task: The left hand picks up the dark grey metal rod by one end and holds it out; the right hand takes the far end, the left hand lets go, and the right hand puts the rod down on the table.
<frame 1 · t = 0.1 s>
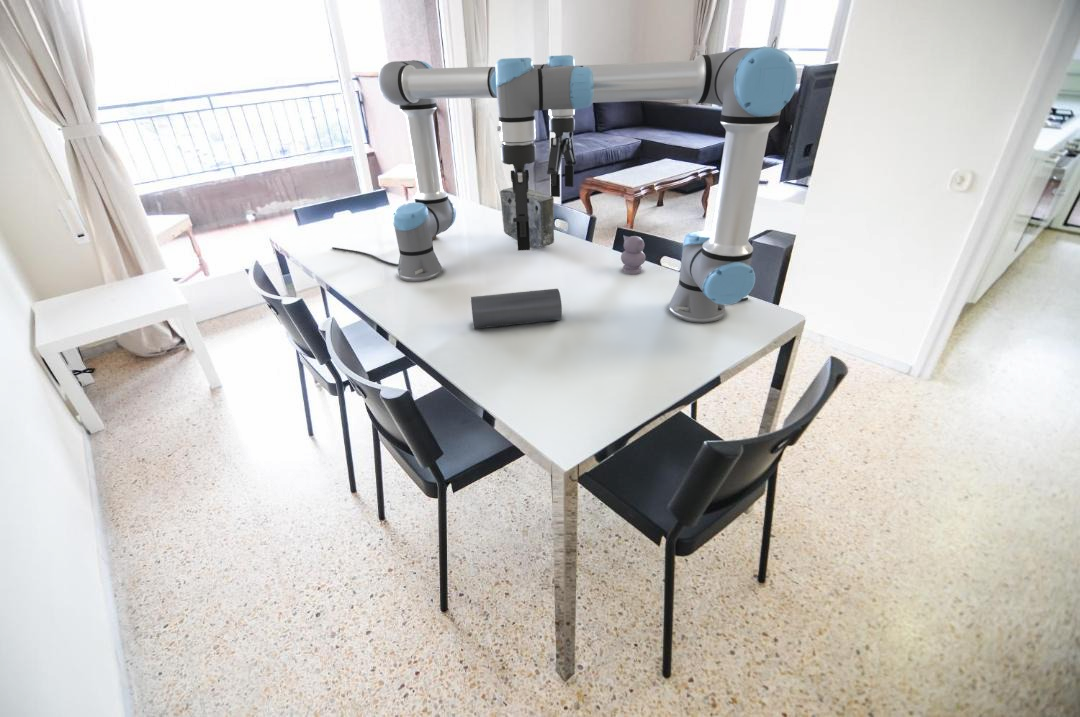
left hand: (562, 191, 156), 28 cm above the table, tool pointing down, fingers open, 13 cm apart
right hand: (523, 240, 117), 28 cm above the table, tool pointing down, fingers open, 13 cm apart
seal figurine: (423, 241, 208), on the table
cat figurine: (632, 271, 172), on the table
rod: (517, 322, 142), on the table
concrete block: (530, 244, 200), on the table
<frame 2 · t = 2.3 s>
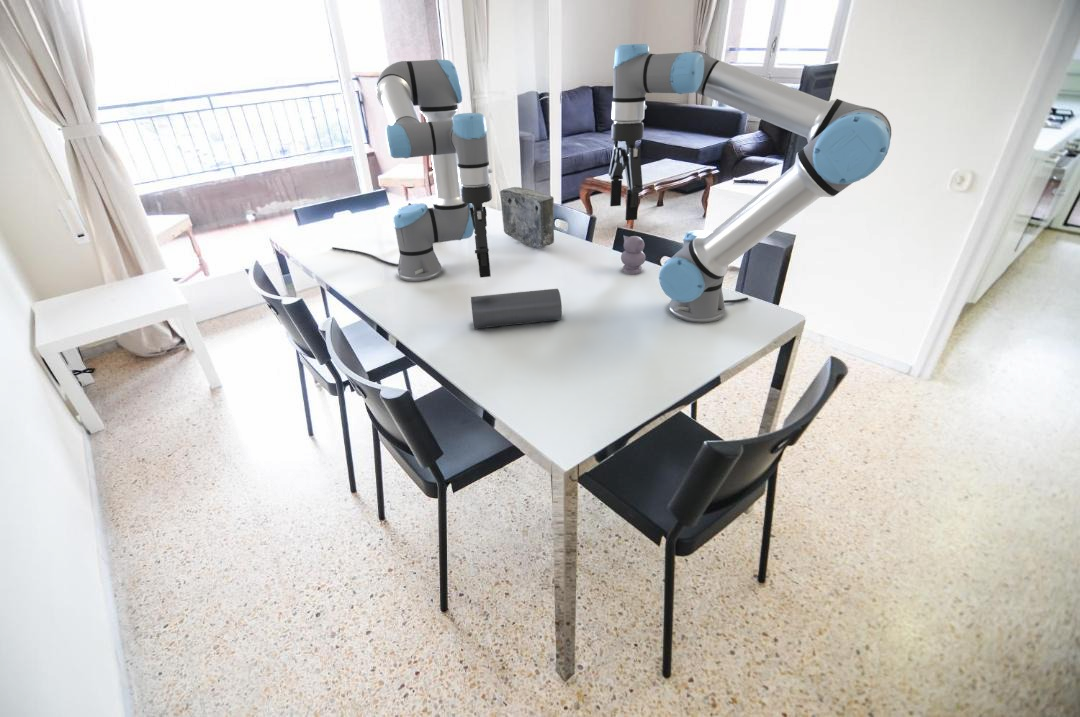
left hand: (483, 267, 132), 17 cm above the table, tool pointing down, fingers open, 13 cm apart
right hand: (622, 212, 128), 30 cm above the table, tool pointing down, fingers open, 13 cm apart
nothing on the table moved.
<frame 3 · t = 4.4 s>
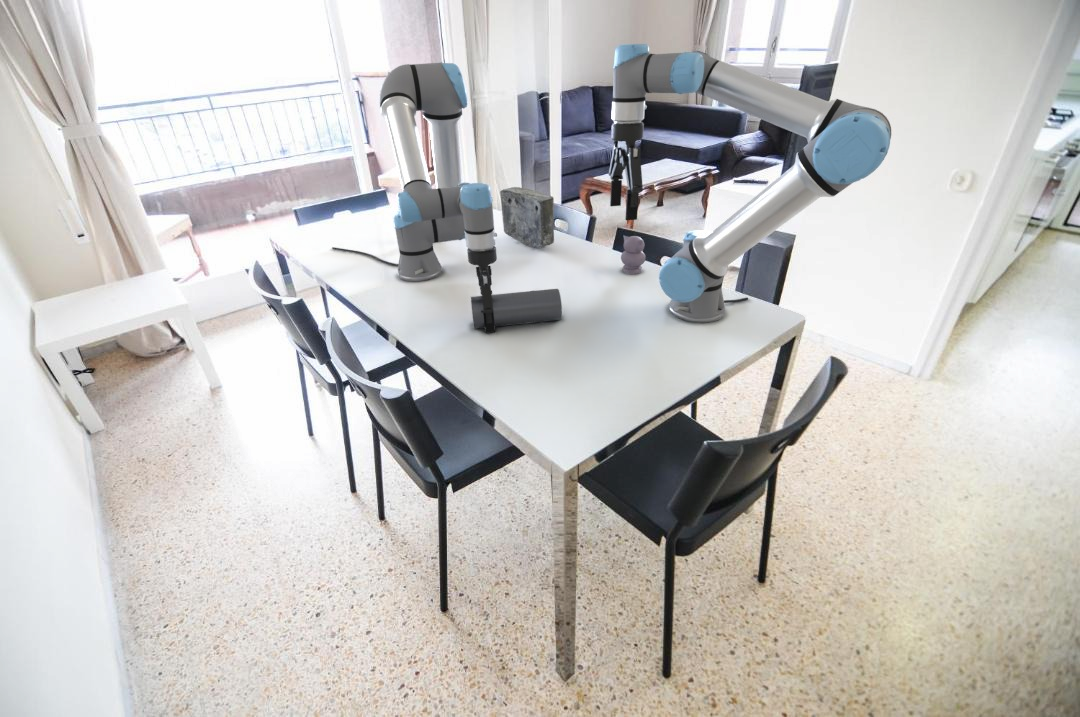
left hand: (489, 323, 141), 0 cm above the table, tool pointing down, fingers closed on rod, 9 cm apart
right hand: (622, 212, 128), 30 cm above the table, tool pointing down, fingers open, 13 cm apart
rod: (517, 322, 142), on the table, touching left hand
everything else where it was.
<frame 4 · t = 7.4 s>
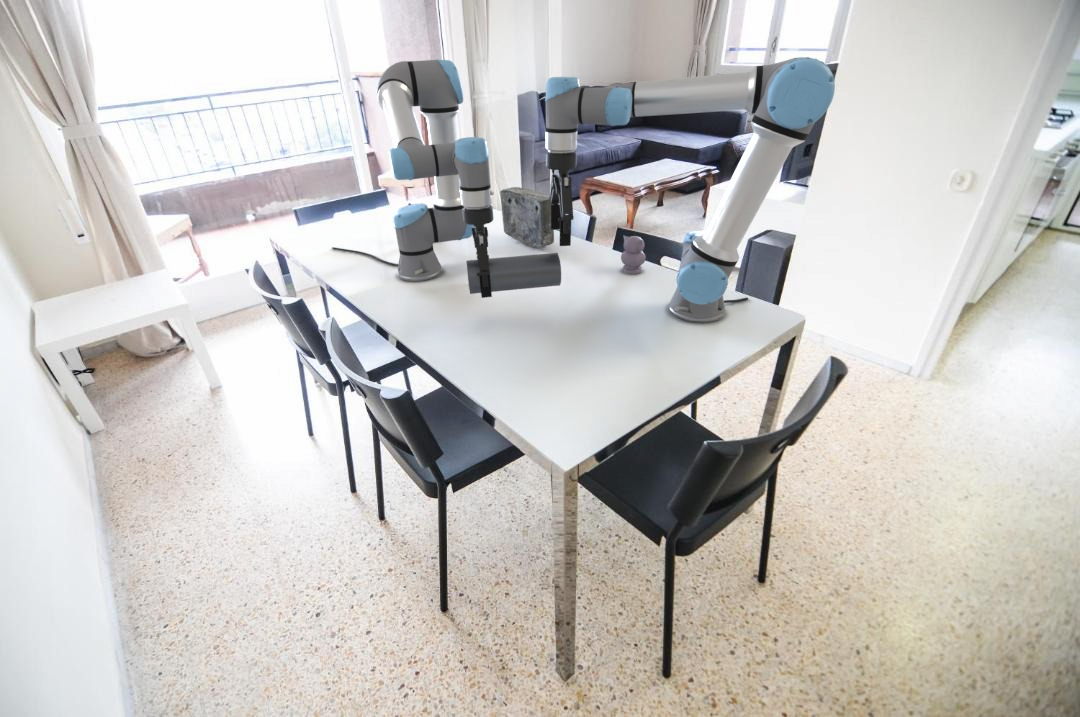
left hand: (485, 289, 135), 11 cm above the table, tool pointing down, fingers closed on rod, 9 cm apart
right hand: (560, 237, 131), 24 cm above the table, tool pointing down, fingers open, 13 cm apart
rod: (514, 288, 136), point 10 cm above the table, touching left hand
everything else where it was.
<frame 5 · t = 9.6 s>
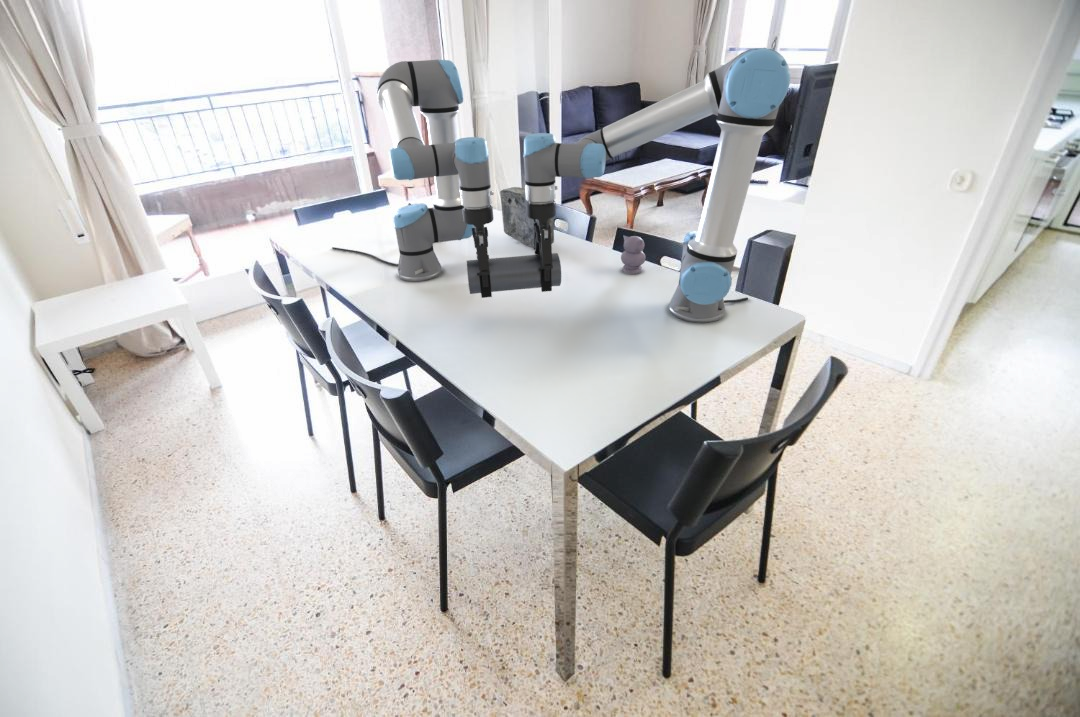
left hand: (485, 289, 135), 11 cm above the table, tool pointing down, fingers closed on rod, 9 cm apart
right hand: (543, 283, 137), 11 cm above the table, tool pointing down, fingers closed on rod, 9 cm apart
rod: (514, 288, 136), point 10 cm above the table, touching left hand, right hand
everything else where it was.
when the left hand's fingers open (11 cm above the table, at t = 10.5 s): rod stays where it is, held by the right hand.
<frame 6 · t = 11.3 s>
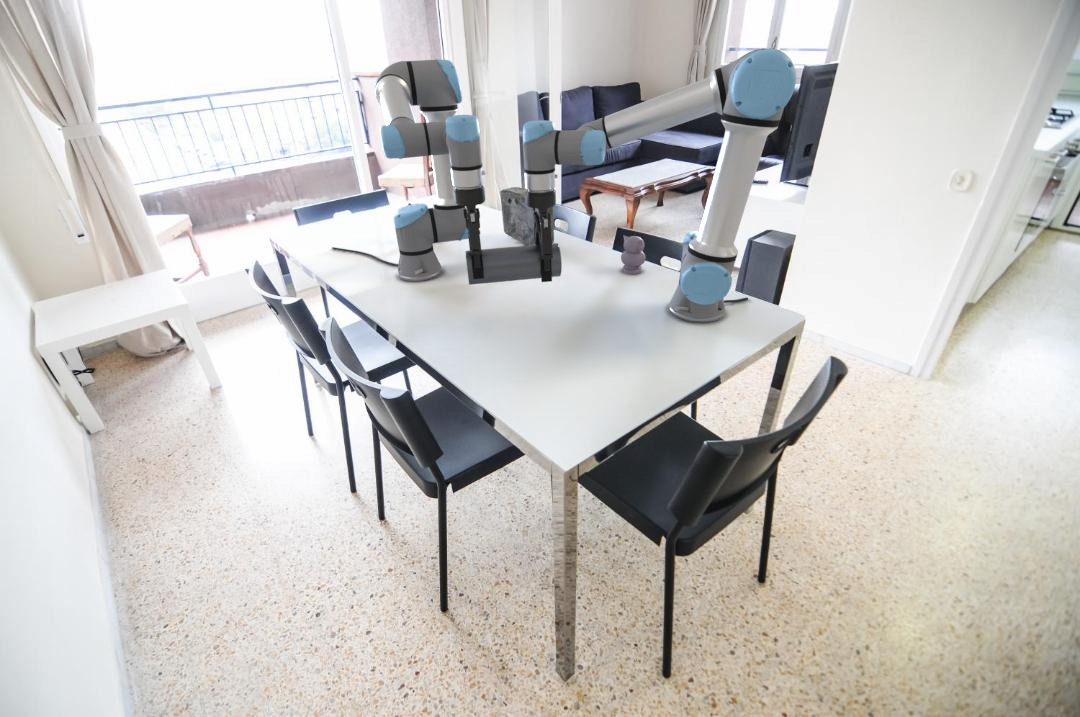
left hand: (477, 268, 132), 17 cm above the table, tool pointing down, fingers open, 13 cm apart
right hand: (543, 274, 135), 14 cm above the table, tool pointing down, fingers closed on rod, 9 cm apart
rod: (514, 279, 135), point 13 cm above the table, touching right hand
everything else where it was.
when the right hand's fingers open (2 cm above the table, at t = 15.1 s): rod drops 1 cm, on the table.
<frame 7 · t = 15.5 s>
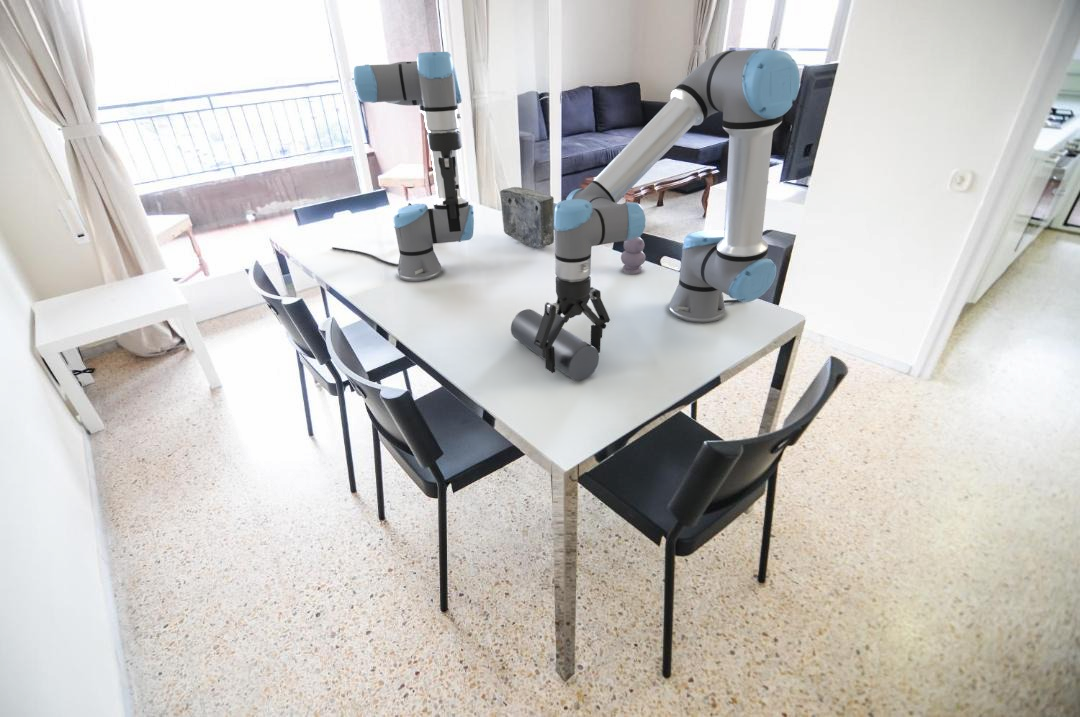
left hand: (454, 223, 125), 30 cm above the table, tool pointing down, fingers open, 13 cm apart
right hand: (573, 360, 117), 3 cm above the table, tool pointing down, fingers open, 13 cm apart
rod: (553, 358, 124), on the table
everything else where it was.
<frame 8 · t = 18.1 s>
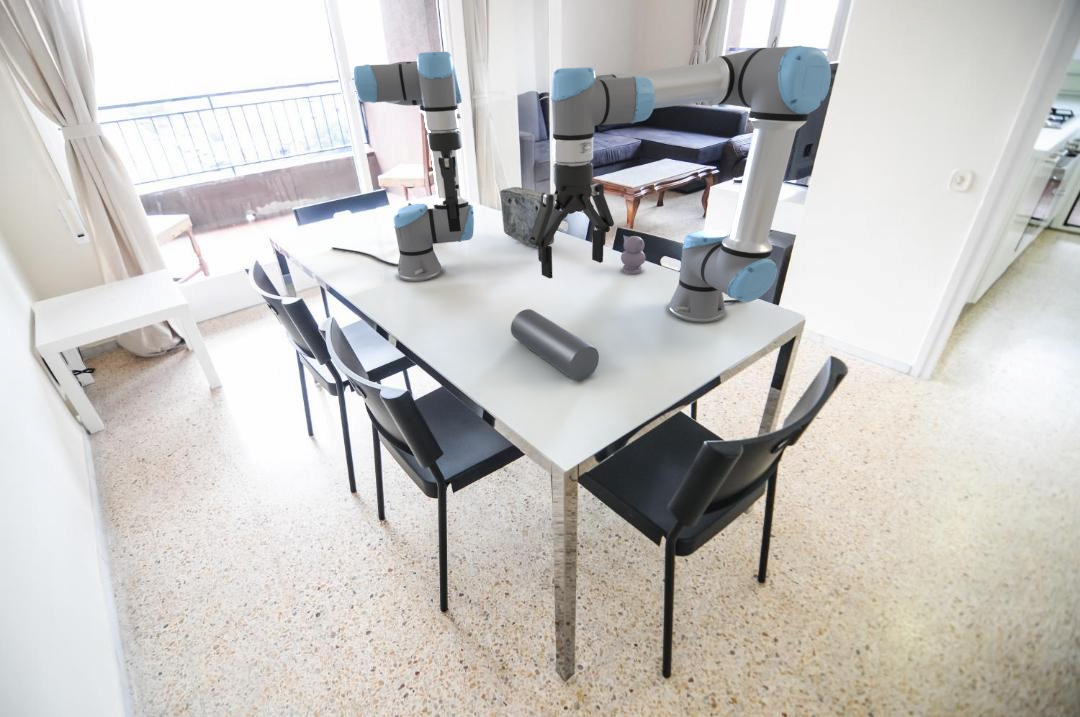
left hand: (454, 223, 125), 30 cm above the table, tool pointing down, fingers open, 13 cm apart
right hand: (573, 268, 105), 26 cm above the table, tool pointing down, fingers open, 13 cm apart
nothing on the table moved.
at the end: rod inside the target area (8.0 cm from its centre), on the table; the left hand is holding nothing; the right hand is holding nothing; rod at rest at the end (0.0 cm/s) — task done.
